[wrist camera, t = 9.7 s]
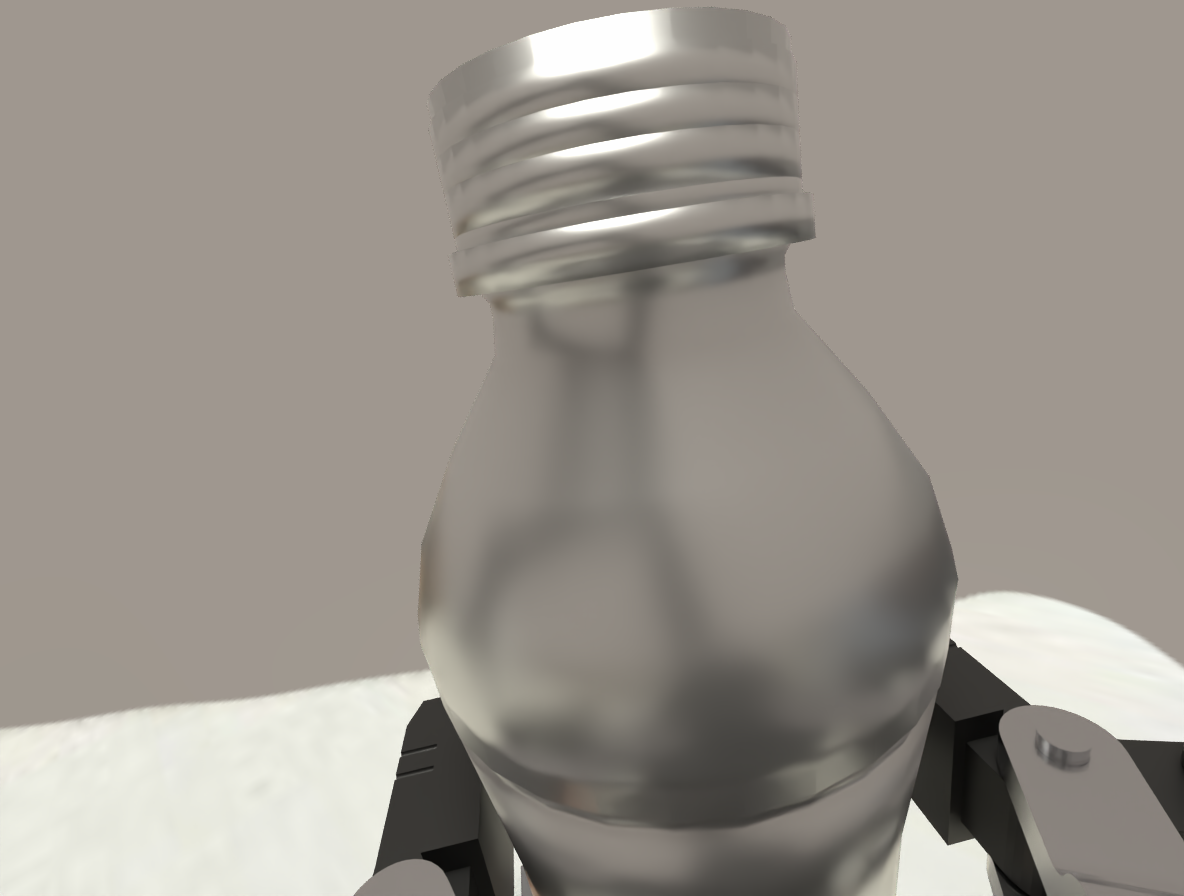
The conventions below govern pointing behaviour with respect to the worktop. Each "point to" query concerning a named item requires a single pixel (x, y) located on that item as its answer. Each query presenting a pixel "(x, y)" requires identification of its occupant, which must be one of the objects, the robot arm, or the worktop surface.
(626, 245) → the plastic bottle
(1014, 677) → the worktop surface
